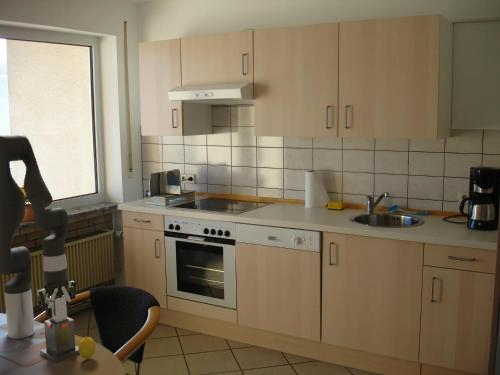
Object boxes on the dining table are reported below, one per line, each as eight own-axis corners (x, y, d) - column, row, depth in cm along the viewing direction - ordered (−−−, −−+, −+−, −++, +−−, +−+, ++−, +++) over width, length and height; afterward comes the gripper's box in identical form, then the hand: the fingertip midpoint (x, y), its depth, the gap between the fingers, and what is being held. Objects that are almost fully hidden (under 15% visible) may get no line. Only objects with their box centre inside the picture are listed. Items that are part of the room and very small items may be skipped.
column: (52, 349, 187) (48, 296, 184) (63, 345, 190) (59, 293, 187) (58, 352, 184) (54, 299, 181) (69, 348, 187) (66, 296, 185)
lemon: (91, 363, 179) (90, 340, 178) (76, 362, 181) (74, 339, 179) (99, 356, 185) (97, 333, 184) (84, 355, 186) (82, 332, 185)
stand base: (40, 354, 187) (37, 321, 185) (66, 344, 194) (64, 312, 193) (55, 362, 180) (52, 328, 179) (82, 352, 188) (79, 319, 186)
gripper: (68, 260, 191) (71, 306, 193) (29, 270, 180) (33, 318, 182) (80, 264, 186) (83, 311, 188) (40, 274, 175) (44, 324, 178)
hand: (58, 314), depth 185 cm, fingers open, 5 cm apart
